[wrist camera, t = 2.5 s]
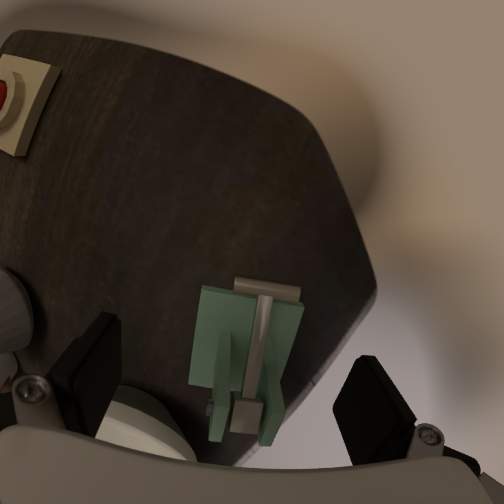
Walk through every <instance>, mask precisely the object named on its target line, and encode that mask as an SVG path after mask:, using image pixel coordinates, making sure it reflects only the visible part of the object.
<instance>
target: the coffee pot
mask: <svg viewBox="0 0 504 504" xmlns="http://www.w3.org/2000/svg"><path fill="white" fill-rule="evenodd" d="M33 330H34V317H33V310H32V305H31V301H30V298H29V295H28V293H27V291H26V289H25V288H24V286H23V284H22V283H21V282H20V281H19V280H18V278H16V277H15V276H14V275H13V274H12V273H10V272H9V271H8V270H7V269H5V268H3V267H1V266H0V354H3V353H8V352H12V351H16V350H21V349H23V348H25V347H26V346H27V345H28V344H29V342H30V340H31V338H32V335H33Z"/></svg>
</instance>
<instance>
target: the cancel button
mask: <svg viewBox="0 0 504 504" xmlns="http://www.w3.org/2000/svg"><path fill="white" fill-rule="evenodd" d="M6 97H7V86H6V84H4V83H1V82H0V110H1V109H2V107H3V105H4V102H5V100H6Z"/></svg>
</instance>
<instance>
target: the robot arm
mask: <svg viewBox="0 0 504 504" xmlns="http://www.w3.org/2000/svg"><path fill="white" fill-rule="evenodd" d="M121 377H122V359H121V320H119V319H117V315H115V314H111V313H108V312H104V311H102V312H101V313H100V314H99V315H98V317H97V318H96V319H95V320H94V321H93V323H92V324H91V325H90V326H89V327H88V329H87V330H86V331H85V332H84V334H83V335H82V336H81V337H80V338H76V339H74V340H73V342H72V343H71V344H70V345H69V346H68V348H67V349H66V350H65V351H64V353H63V354H62V355H61V356H60V358H59V359H58V360H57V361H56V363H55V364H54V365H53V366H52V368H51V369H50V370H49V372H48V373H47V374H46V376H45V377H43V376H41V375H38V374H25V375H22V376H20V377H18V378H17V379H16V380H15V381H14V383H13V385H12V392H7V393H1V394H0V504H504V486H503V485H502V484H500V483H499V482H497V481H496V480H494V479H493V478H492V477H490V476H489V475H487V474H486V473H484V472H483V473H482V474H480V472H481V469H480V465H479V464H478V462H477V460H475V459H474V458H472V457H470V456H468V455H465V454H463V453H461V452H458V451H456V450H454V449H451V448H449V447H447V446H444V436H443V433H442V432H441V431H440V430H439V429H438V428H437V427H435V426H433V425H431V424H427V423H423V424H419V425H418V426H415V425H414V423H415V422H416V420H417V418H416V417H415V415H414V414H413V412H412V410H411V409H410V408H409V406H408V404H407V403H406V402H405V400H404V398H403V397H402V395H401V394H400V392H399V391H398V389H397V388H396V386H395V385H394V383H393V382H392V380H391V379H390V377H389V376H388V374H387V373H386V371H385V370H384V368H383V367H382V365H381V364H380V363H379V361H378V360H377V358H376V357H375V356H369V355H362V356H360V357H359V358H357V359H356V360H355V362H354V364H353V366H352V369H351V371H350V373H349V375H348V377H347V379H346V381H345V383H344V385H343V387H342V389H341V391H340V393H339V395H338V397H337V399H336V400H335V402H334V404H333V413H334V416H335V419H336V421H337V424H338V427H339V429H340V432H341V435H342V437H343V440H344V443H345V446H346V448H347V451H348V454H349V456H350V459H351V462H352V465H353V466H346V467H334V468H319V469H260V468H243V467H232V466H222V465H214V464H206V463H199V462H192V461H186V460H181V459H175V458H170V457H165V456H161V455H156V454H152V453H148V452H143V451H139V450H135V449H131V448H127V447H124V446H120V445H116V444H113V443H110V442H106V441H103V440H100V439H96V438H95V437H96V434H97V432H98V430H99V427H100V425H101V423H102V421H103V418H104V416H105V414H106V412H107V409H108V407H109V405H110V403H111V401H112V398H113V396H114V394H115V392H116V390H117V388H118V386H119V383H120V381H121Z"/></svg>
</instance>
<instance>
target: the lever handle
mask: <svg viewBox="0 0 504 504" xmlns="http://www.w3.org/2000/svg"><path fill="white" fill-rule="evenodd" d="M232 293H235V294H241V295H247V296H253V297H257V299H256V305H255V311H254V317H253V323H252V329H251V334H250V340H249V346H248V352H247V357H246V363H245V369H244V375H243V380H242V386H241V391H240V392H238V391H232V396H231V402H230V410H229V414H228V419H227V420H228V427H229V432H236V433H247V434H258V429H259V425H260V420H261V415H262V410H263V405H264V403H263V401H262V399H261V397H260V395H259V394H256V393H257V388H258V383H259V378H260V372H261V367H262V361H263V356H264V350H265V344H266V339H267V333H268V327H269V321H270V315H271V309H272V303H273V300H277V301H283V302H290V303H297V302H298V301H299V298H300V293H301V288H300V285H296V284H290V283H284V282H278V281H272V280H267V279H261V278H255V277H250V276H244V275H239V274H235V277H234V281H233V287H232Z"/></svg>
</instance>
